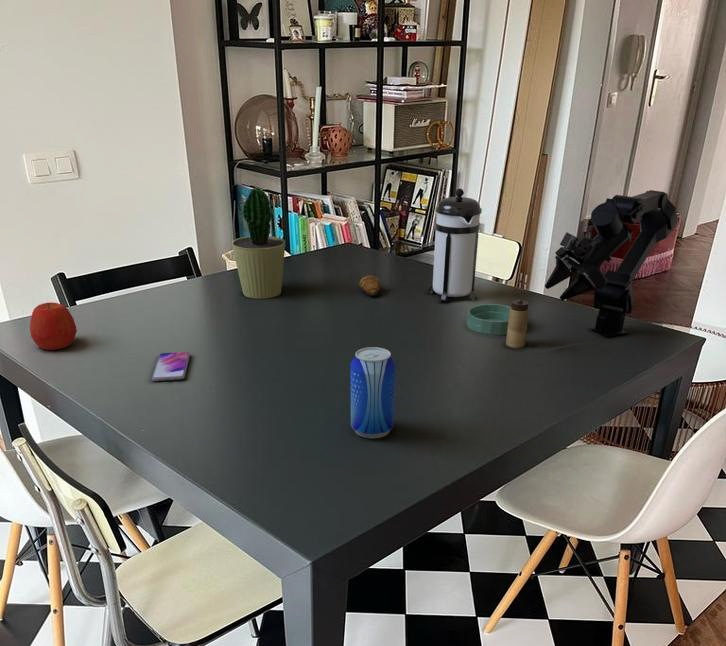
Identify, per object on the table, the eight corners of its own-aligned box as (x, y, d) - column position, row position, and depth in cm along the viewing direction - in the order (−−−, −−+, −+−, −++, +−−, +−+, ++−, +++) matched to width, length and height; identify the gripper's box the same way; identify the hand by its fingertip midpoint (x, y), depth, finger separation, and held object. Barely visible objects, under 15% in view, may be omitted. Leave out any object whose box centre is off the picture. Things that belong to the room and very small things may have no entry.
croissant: (385, 297, 215) (385, 280, 212) (362, 299, 214) (362, 282, 211) (376, 284, 226) (377, 268, 223) (355, 285, 225) (355, 269, 222)
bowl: (500, 315, 202) (501, 301, 200) (531, 332, 191) (533, 317, 189) (456, 322, 197) (457, 308, 195) (485, 340, 186) (487, 324, 184)
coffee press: (487, 293, 219) (497, 186, 203) (464, 307, 207) (473, 195, 191) (436, 283, 227) (442, 180, 211) (410, 297, 215) (415, 189, 199)
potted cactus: (243, 283, 226) (235, 180, 210) (292, 286, 224) (288, 181, 208) (229, 299, 213) (219, 190, 197) (281, 302, 211) (275, 191, 195)
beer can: (349, 421, 147) (348, 345, 139) (390, 419, 148) (392, 344, 139) (352, 441, 140) (352, 363, 132) (396, 439, 141) (398, 361, 132)
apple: (88, 344, 182) (79, 302, 176) (46, 356, 175) (36, 313, 169) (66, 334, 188) (57, 293, 182) (25, 345, 181) (15, 303, 176)
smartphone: (151, 378, 162) (159, 352, 175) (151, 382, 163) (160, 356, 175) (184, 376, 163) (190, 351, 176) (184, 380, 163) (190, 354, 176)
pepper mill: (513, 341, 185) (518, 295, 179) (528, 346, 182) (534, 299, 176) (501, 345, 183) (507, 298, 176) (516, 350, 180) (522, 303, 174)
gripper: (568, 212, 177) (519, 260, 181) (603, 229, 161) (549, 282, 165) (593, 244, 182) (545, 290, 186) (629, 264, 166) (576, 314, 171)
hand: (553, 293), depth 177 cm, fingers open, 9 cm apart
